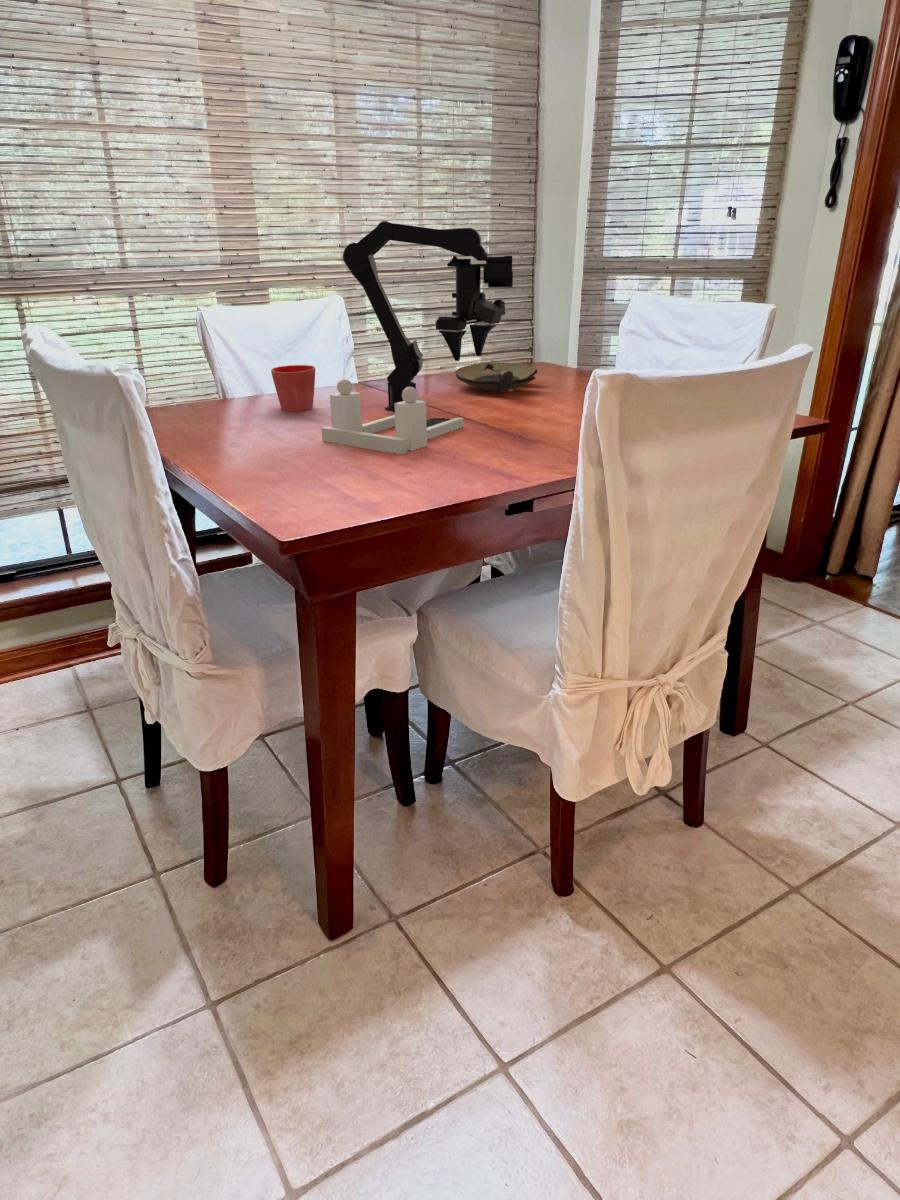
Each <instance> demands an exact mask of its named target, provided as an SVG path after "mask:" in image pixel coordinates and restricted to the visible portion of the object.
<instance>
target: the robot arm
mask: <svg viewBox="0 0 900 1200" xmlns="http://www.w3.org/2000/svg"><path fill="white" fill-rule="evenodd" d="M390 241H394V242H401V243H408V244H415V245H422V246H423V245H424V246H431V247H439V248H441V249H443V250H446V251H448V252H452V253H455V254H457V255H460V256H464V257H470V256H471V257H472V258H474V259H475V260H476V261H478V262H485V263H472V259H471V258H458V257H457V255H453V256H452V258H451V259H450V260H449V262H447V263H446V266H447V267H448V268H450V267H451V268H454V267H455V292H452V293H451V298H454V299H455V311H451V315H449V314H447V315H439V316H438V317H436V319H435V330H438V333H439V334H441V335H442V337H443V339H444V341H445V342H446V344H447V347H448V349H449V350H450V354H452V357H453V359H454V361H455V362H460V361H461V353H462V341H463V337H464V336H465V334H466V333H467V330H465V329H466V327H467V325H469V329H470V334H471V338H472V343H473V348H474V352H475V355H476V357H481V356H482V354H483V350H484V347H485V343H486V340H487V337H488V335H489V332H491V330H493V329H494V328H495V327H497V324H499V323H501V319H502V316H505V315H506V304H505V301H504V300H502V299H495V300H494V301H489V300H487V299H486V294H485V292H483V291H481V285H482V284H481V283H482V282H483V284H486V285H487V287H488V289H489V288H490V289H497V288H499V289H500V288H501V289H502V288H505V289H506V288H507V289H509V288H511V289H514V288H513V287H514V286H513V285H514V270H513V255H503V256H502V255H499V256H496V255H495V256H489V254H488V251H486V250H485V248H484V247H483V246H482V237H481V234H480V233H479V231H478V230H477V229H475V228H473V227H461V228H444V229H442V228H441V229H440V228H433V227H426V226H418V225H411V224H404V223H403V224H402V223H397V222H392V221H390V220H382V221H381V222H379V223H378V224H377V226H376V227H375V228H373V229H372V230H371V231H370V232H368V233H367V234H366V235H365V236H364V237H362V238H361V239H360V240H359V241H358V242H355V241H354V242H352V243H349V244H348V245H347V246H346V247H345V249H344V250H343V254H342V258H343V262H344V264H345V266H346V267H347V268H348V270H349V271H350V273H351V274H352V276H353V277H354V278H355V279H356V280H357V282H359V284H360V285H361V287H362V288H363V290H364V292H365V294H366V296H367V298H368V300H369V303H370V304H371V307H372V309H373V312H374V313H375V315H376V317H377V319H378V321H379V324H380V326H381V328H382V330H383V333H384V334H385V336H386V338H387V341H388V343H389V346H390V351H391V356H392V360H393V364H394V366H395V367H394V369H392V371H391V372H390V373H389V374H388V375H387V376H386V380H387V397H388V400H387V401H388V406H384V410H389V411H394V412H395V403H398V402H402V401H404V400H403V398H402V392H403V390H404V389H405V388H407V387H413V388H415V389H416V390H417V385H416V384H417V383H416V382H414V379H415V377H417V375H418V374H419V372H420V371H421V370H422V368H423V364H424V363H423V362H424V361H423V357H424V354H423V353H422V352H421V350H420V348H419V344H418V342H417V341H418V340H417V339H414V340H413V341H412V342H411V340H409V338H408V337H407V336H406V334H405V332H404V330H403V328H402V326H401V323H400V322H399V319H398V317H397V315H396V313H395V311H394V309H393V307H392V304H391V302H390V300H389V297H388V295H387V294H386V292H385V290H384V287H383V285H382V283H381V280H380V277H379V274H378V268H377V264H376V260H375V259H376V258H375V255H376V254H377V253H378V252H379V251H380V250H382V248H384V246H385V245H386V244H388V242H390ZM481 269H483V275H481V274H482V273H481V272H482V270H481ZM481 277H483V279H482V278H481ZM481 279H482V281H481Z"/></svg>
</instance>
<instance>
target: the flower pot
mask: <svg viewBox="0 0 900 1200" xmlns="http://www.w3.org/2000/svg"><path fill="white" fill-rule="evenodd" d="M270 373H271V377H272V380H273V385H274V387H275V391H276V395H277V399H278V402H279V407H280V409H281V410H282V411H284V412H302V411H307V410H311V409H313V407H314V399H315V398H314V397H315V385H316V384H315V383H316V366H314V365H309V364H307V365H306V364H295V365H294V364H293V365H282V366H276V367H273V368H271V370H270Z"/></svg>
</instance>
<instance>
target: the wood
mask: <svg viewBox="0 0 900 1200" xmlns="http://www.w3.org/2000/svg"><path fill="white" fill-rule="evenodd" d="M451 419H452V418H444V417H432V418H428V419H426V426H427V427H430V426H433V425H436V424H439V423H442V422H445V421H448V420H451Z"/></svg>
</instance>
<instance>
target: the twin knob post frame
mask: <svg viewBox="0 0 900 1200" xmlns="http://www.w3.org/2000/svg"><path fill="white" fill-rule="evenodd" d="M336 390H337V391H338V392H336V393H332V394H329V402H330V403H329V404H330V414H331V417H330V418H331V426H323V427H321V441H322V442H325V441H326V442H325V443H330V442H332V443H331V444H336V443H337V445H344V446H349V447H354V448H355V447H356V448H361V449H365V450H366V449H367V450H372V451H377V452H384V453H389V452H390V454H394V453H396V455H400V454H401V456H402V454H403V455H405V453H406V454H408V450H411V451H410V452H413V450H414V451H417V450H420V449H422V448H421V447H423V448H425V447H427V446H428V440H427V439H429V440H431V439H434V438H436V436H437V437H440V436H442V434H443V435H445V434H444V433H446V434H449V433H451V432H454V431H457V430H460V429H462V427H463V428H465V418H464V417H454V418H450V419H451V420H448V421H445V422H442V423H439V424H436V425H433V426H430V427H427V426H426V420H427V401H426V400H419V399H418V398H419V392H418V389H417V388H416V389H415V388H413V387H407V388H405V389H404V390H403V392H402V398H403V400H404V401H402V402H398V403H395V411H394V414H393V415H389V416H387V417H383V418H379V419H376V420H373V421H369V422H365V423H363V418H362V417H363V416H362V401H361V400H362V398H361V392H356V391H353V383H352V382H351V381H350V380H349V379H346V378H342V379H340V380H339V381H338V382H337V385H336ZM393 427H394V428H395V436H390V435H383V434H377V433H378V432H381V431H384V430H388V429H391V428H393ZM459 428H460V429H459ZM456 429H457V430H456ZM453 430H454V431H453ZM450 431H451V432H450ZM448 432H449V433H448ZM439 435H440V436H439ZM433 437H434V438H433ZM430 438H431V439H430ZM424 446H425V447H424ZM419 448H420V449H419ZM416 449H417V450H416Z"/></svg>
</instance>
